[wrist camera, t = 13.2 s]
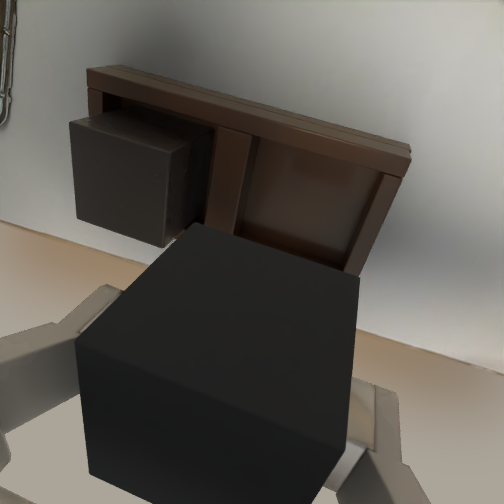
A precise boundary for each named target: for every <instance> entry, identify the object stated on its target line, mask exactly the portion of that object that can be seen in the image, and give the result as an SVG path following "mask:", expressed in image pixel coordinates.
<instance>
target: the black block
mask: <svg viewBox="0 0 504 504" xmlns="http://www.w3.org/2000/svg"><path fill="white" fill-rule="evenodd" d="M359 286H360V277H358V276H355V275H352V274H349V273H346V272H343V271H340V270H337V269H334V268H331V267H328V266H325V265H322V264H319V263H316V262H313V261H310V260H307V259H304V258H301V257H298V256H295V255H292V254H289V253H286V252H283V251H280V250H277V249H274V248H271V247H268V246H265V245H262V244H259V243H256V242H253V241H250V240H247V239H244V238H241V237H238V236H235V235H232V234H229V233H226V232H223V231H220V230H217V229H214V228H211V227H208V226H205V225H202V224H199V223H196V222H194V223H193V224H192V225H191V226H190V227H189V228H188V229H187V230H186V231H185V232H184V233H183V234H182V235H181V236H180V237H179V238H178V239H177V240H176V241H175V242H174V243H173V244H172V245H171V246H170V247H169V248H167V249H166V250H165V251H164V252H163V253H162V254H161V255H160V256H159V257H158V258H157V259H156V260H155V261H154V262H153V263H152V264H151V265H150V266H149V267H148V268H147V269H146V270H145V271H144V272H143V273H142V274H141V275H140V276H139V277H138V278H137V279H136V280H135V281H134V282H133V283H132V284H131V285H130V286H129V287H128V288H127V289H126V290H125V291H124V292H123V293H122V294H121V295H120V296H119V297H118V298H117V299H116V300H115V301H114V302H113V303H112V304H111V305H110V306H109V307H107V308H106V309H105V310H104V311H103V312H102V313H101V314H100V315H99V316H98V317H97V318H96V319H95V320H94V321H93V322H92V323H91V324H90V325H89V326H88V327H87V328H86V329H85V330H84V331H83V332H82V333H81V334H80V335H79V336H78V337H77V338H76V339H75V341H74V345H75V354H76V362H77V371H78V380H79V388H80V397H81V406H82V415H83V423H84V432H85V441H86V449H87V458H88V467H89V473H90V475H92V476H95V477H97V478H99V479H101V480H103V481H105V482H107V483H110V484H112V485H114V486H116V487H118V488H120V489H122V490H124V491H127V492H129V493H131V494H133V495H135V496H137V497H140V498H142V499H144V500H146V501H148V502H150V503H152V504H311V503H312V501H313V500H314V498H315V497H316V495H317V494H318V492H319V491H320V489H321V488H322V486H323V485H324V483H325V482H326V480H327V478H328V477H329V475H330V474H331V472H332V471H333V469H334V468H335V466H336V465H337V463H338V461H339V460H340V458H341V457H342V455H343V454H344V452H345V451H346V440H347V428H348V416H349V404H350V392H351V381H352V369H353V357H354V345H355V333H356V322H357V310H358V298H359Z"/></svg>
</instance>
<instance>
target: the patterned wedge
mask: <svg viewBox="0 0 504 504" xmlns="http://www.w3.org/2000/svg"><path fill="white" fill-rule="evenodd" d="M15 2H16V0H0V125H2V124H3V122H4V121H6V118H7V114H8V112H9V111H8V105H9V102H10V103H11V98H10V97H8V95H9V94H8V92H9V89H8V88H11V73H12V58H13V55H12V51H13V49H14V47H13V45H14V39H15V38H14V37H13V36H14V35H15V30H14V26H16V16H15Z"/></svg>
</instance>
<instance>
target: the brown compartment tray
mask: <svg viewBox="0 0 504 504" xmlns="http://www.w3.org/2000/svg"><path fill="white" fill-rule="evenodd" d="M86 71H87V86H88V87H89V88H88V89H87V90H88V109H89V117H86V118H82V119H79V120H75V121H71V122H69V129H70V142H71V154H72V166H73V178H74V190H75V202H76V215H77V219H79V220H82V221H85V222H88V223H90V224H93V225H96V226H99V227H102V228H105V229H108V230H111V231H113V232H116V233H119V234H122V235H125V236H128V237H131V238H134V239H136V240H139V241H142V242H145V243H148V244H151V245H154V246H157V247H159V248H165V247H166V246H167V245H168V244H169V243H170V242H171V241H172V240H173V239H178V238H179V237H180V236H181V235H182V234H183V233H184V232H185V231H186V230H187V229H188V228H189V227H190V226H191V225H192V224H193V223H194V222H196V223H199V224H202V225H205V226H208V227H211V228H214V229H217V230H220V231H223V232H226V233H229V234H232V235H235V236H238V237H241V238H244V239H247V240H250V241H253V242H256V243H259V244H262V245H265V246H268V247H271V248H274V249H277V250H280V251H283V252H286V253H289V254H292V255H295V256H298V257H301V258H304V259H307V260H310V261H313V262H316V263H319V264H322V265H325V266H328V267H331V268H334V269H337V270H340V271H343V272H346V273H349V274H352V275H355V276H358V277H359V275H360V273H361V271H362V268H363V266H364V264H365V262H366V260H367V257H368V255H369V253H370V251H371V249H372V246H373V244H374V242H375V240H376V238H377V235H378V233H379V231H380V229H381V227H382V224H383V222H384V220H385V218H386V216H387V213H388V211H389V209H390V207H391V205H392V202H393V200H394V198H395V196H396V193H397V191H398V189H399V187H400V185H401V182H402V180H403V177H404V176H405V174H406V172H407V170H408V167H409V165H410V163H411V161H412V159H411V156H410V153H411V148H410V145H409V144H405V143H401V142H398V141H394V140H390V139H387V138H383V137H379V136H376V135H372V134H369V133H365V132H361V131H358V130H354V129H350V128H347V127H343V126H339V125H336V124H332V123H328V122H325V121H321V120H317V119H314V118H310V117H307V116H303V115H299V114H296V113H292V112H288V111H285V110H281V109H277V108H274V107H270V106H266V105H263V104H259V103H255V102H252V101H248V100H245V99H241V98H237V97H234V96H230V95H226V94H223V93H219V92H215V91H212V90H208V89H204V88H201V87H197V86H193V85H190V84H186V83H183V82H179V81H175V80H172V79H168V78H164V77H161V76H157V75H153V74H150V73H146V72H142V71H139V70H135V69H131V68H128V67H124V66H121V65H110V66H106V67H97V68H88V69H87V70H86Z"/></svg>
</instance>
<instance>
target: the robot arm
mask: <svg viewBox="0 0 504 504" xmlns="http://www.w3.org/2000/svg"><path fill="white" fill-rule="evenodd" d="M123 292H124V291H122V290H120V289H117V288H115V287H112V286H110V285H107V284H106V285H103V286H100V287H99V288H98V289H97V290H96V291H95V292H93V293H92V294H91V295H90V296H89V297H88V298H86V299H85V300H84V301H83V302H82V303H81V304H80V305H78V306H77V307H76V308H75V309H74V310H73V311H72V312H71V313H69V314H68V315H67V316H66V317H65V318H64V319H63V320H61V321H60V322H59V323H58V324H55V323H52V322H51V323H48V324H44V325H41V326H38V327H35V328H31V329H28V330H25V331H21V332H19V333H15V334H12V335H8V336H5V337H2V338H0V472H1V471H2V469H3V468H4V467H5V466H6V465H7V464H8V463H9V461H10V459H11V452H10V449H9V446H8V444H7V441H6V438H5V435H4V434H6V433H8V432H10V431H11V430H13V429H15V428H17V427H19V426H21V425H22V424H24V423H26V422H28V421H30V420H32V419H33V418H35V417H37V416H39V415H41V414H43V413H44V412H46V411H48V410H50V409H52V408H54V407H56V406H57V405H59V404H61V403H63V402H65V401H67V400H69V399H70V398H72V397H74V396H76V395H78V394H80V388H79V380H78V371H77V362H76V354H75V345H74V341H75V339H76V338H77V337H78V336H79V335H80V334H81V333H82V332H83V331H84V330H85V329H86V328H87V327H88V326H89V325H90V324H91V323H92V322H93V321H94V320H95V319H96V318H97V317H98V316H99V315H100V314H101V313H102V312H103V311H104V310H105V309H106V308H107V307H109V306H110V305H111V304H112V303H113V302H114V301H115V300H116V299H117V298H118V297H119V296H120V295H121V294H122V293H123ZM398 404H399V403H398V397H397V394H396V393H395V392H393V391H390V390H387V389H384V388H382V387H379V386H376V385H373V384H371V383H368V382H366V381H363V380H360V379H357V378H354V377H352V381H351V392H350V404H349V416H348V428H347V440H346V451H345V452H344V454H343V455H342V457H341V458H340V460H339V461H338V463H337V465H336V466H335V468H334V469H333V471H332V472H331V474H330V475H329V477H328V478H327V480H326V482H325V483H324V485H323V486H324V487H326V488H328V489H330V490H333V491H335V492H337V493H336V497H337V500H338V503H339V504H431V503H430V501H429V499H428V498H427V496H426V494H425V492H424V491H423V489H422V488H421V486H420V484H419V482H418V480H417V479H416V477H415V476H414V474H413V472H412V470H411V468H410V467H409V466H408V465H405V464H403V463H402V455H401V438H400V421H399V405H398ZM0 504H35V503H33V502H31V501H29V500H27V499H25V498H23V497H21V496H19V495H17V494H15V493H13V492H11V491H9V490H7V489H5V488H3V487H0Z"/></svg>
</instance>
